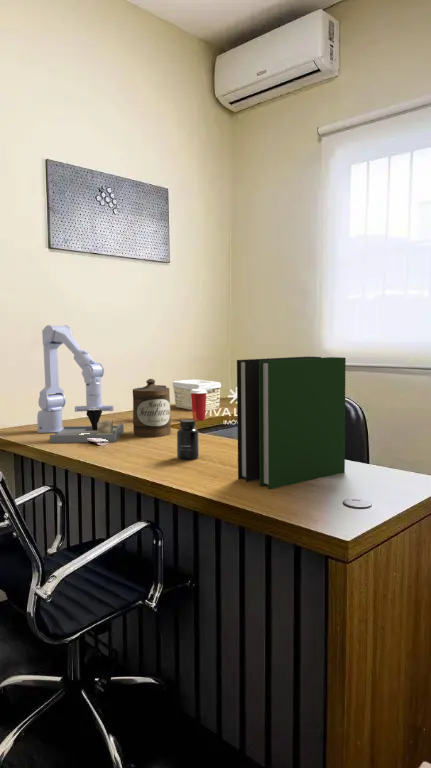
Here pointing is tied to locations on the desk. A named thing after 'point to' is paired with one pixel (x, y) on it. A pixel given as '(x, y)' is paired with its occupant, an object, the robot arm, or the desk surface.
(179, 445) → the supplement bottle
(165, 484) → the desk surface
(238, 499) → the desk surface
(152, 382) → the wooden container
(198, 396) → the paper cup
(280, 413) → the upright hardcover books
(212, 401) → the storage basket
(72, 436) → the grey tray
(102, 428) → the birch block
